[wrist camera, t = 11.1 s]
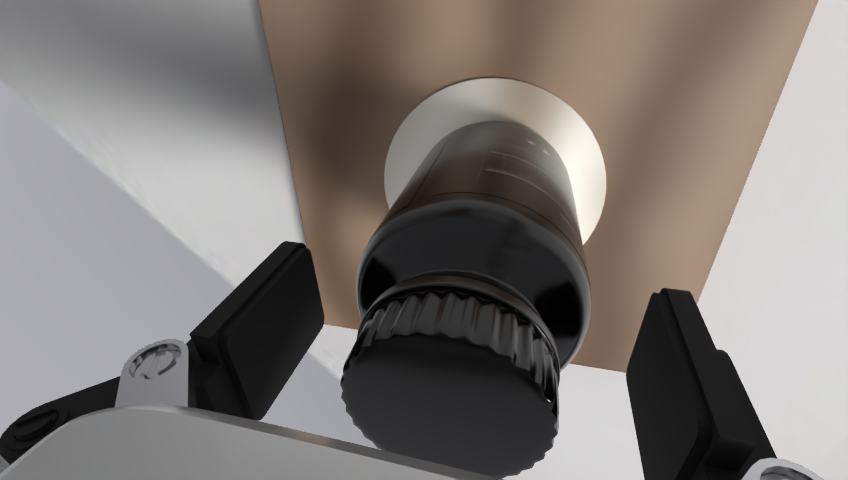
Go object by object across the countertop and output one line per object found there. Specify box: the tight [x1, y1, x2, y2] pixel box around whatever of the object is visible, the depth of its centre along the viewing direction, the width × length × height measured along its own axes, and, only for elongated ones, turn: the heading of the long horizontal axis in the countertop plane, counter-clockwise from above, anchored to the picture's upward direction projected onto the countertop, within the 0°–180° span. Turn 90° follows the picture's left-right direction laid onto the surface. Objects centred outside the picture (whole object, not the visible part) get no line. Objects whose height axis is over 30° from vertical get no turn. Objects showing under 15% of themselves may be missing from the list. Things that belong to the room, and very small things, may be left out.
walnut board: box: [258, 0, 818, 372], centre depth 20 cm, size 20×20×2 cm
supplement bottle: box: [340, 121, 592, 479], centre depth 14 cm, size 7×7×12 cm
